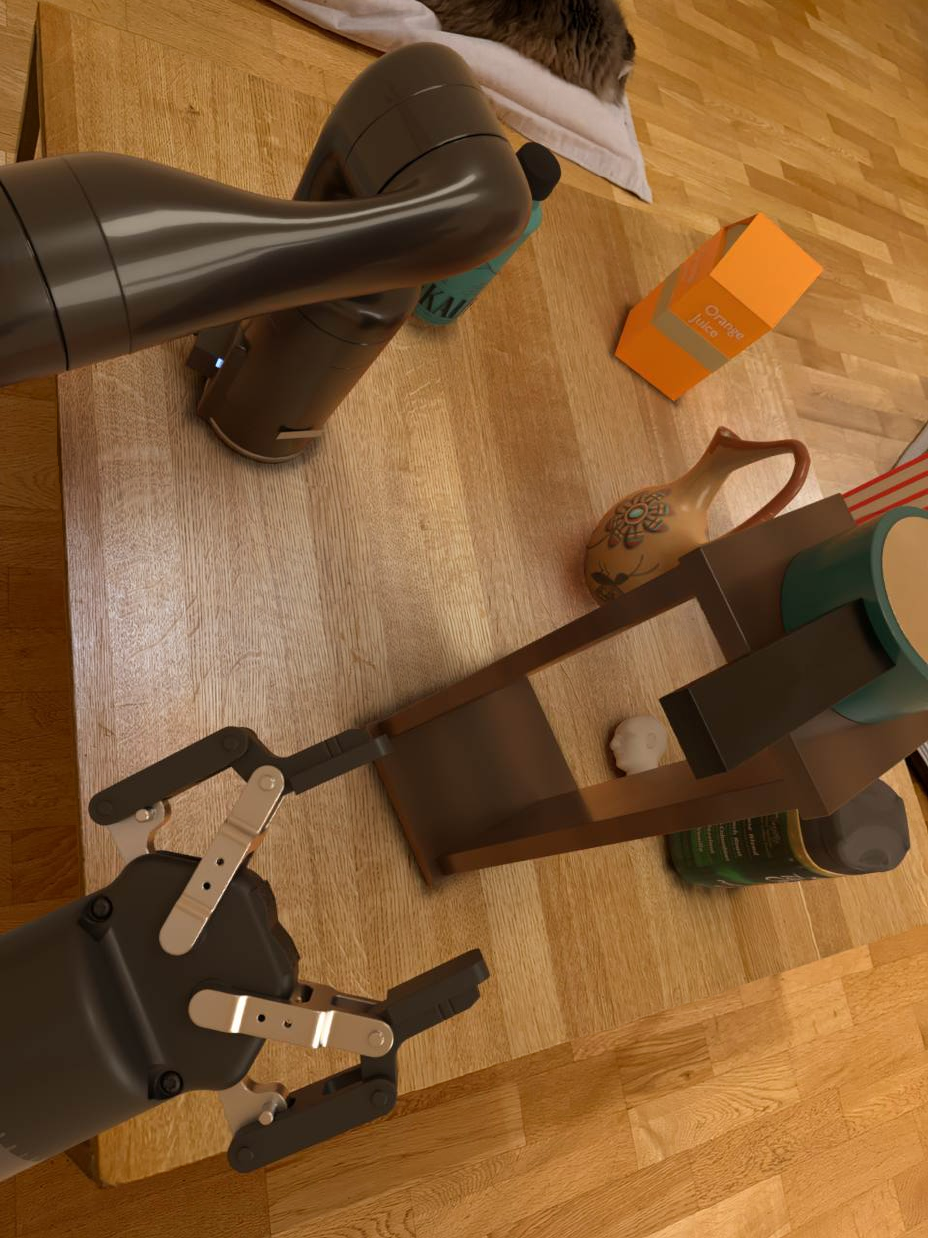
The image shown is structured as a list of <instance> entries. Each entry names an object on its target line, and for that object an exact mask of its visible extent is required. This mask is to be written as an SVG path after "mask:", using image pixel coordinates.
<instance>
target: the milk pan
mask: <svg viewBox="0 0 928 1238" xmlns="http://www.w3.org/2000/svg"><path fill="white" fill-rule="evenodd" d="M781 613H782V620H783V626H784V630H785V634H783V635H781V636H779V637H777V638H775V639H773V640H771V641H769V642H767V643H765V644H763V645H761V646H759V647H758V648H756V649H754V650H752V651H750V652H748V653H746V654H744V655H742V656H740V657H738V658H736V659H734V660H732V661H731V662H729V663H727V662H726V663H725V664H723V665H721V666H719V667H717V668H714V669H713V670H711V671H709V672H708V673H705V674H703V675H702V676H700V677H698V678H696V679H693V680H692V681H690V682H688V683H686V684H684V685H682V686H680V687H679V688H676V689H675V690H673V691H670V692H669V693H667V694H665V695H663V696H661V697H659V698H658V702H659V704H660V706H661V709H662V710H663V713H664V714H665V715H664V716H665V718H666V719H667V721H668V724H669V725H670V728H671V729H672V732H673V734H674V736H675V738H676V741H677V743H678V745H679V747H680V749H681V751H682V753H683V755H684V757H685V760H686V759H687V761H688V764H689V766H690V768H691V770H692V772H693V774H694V776H695V779H696V780H699V779H703V778H707V777H711V776H715V775H719V774H723V773H727V772H729V771H731V770H733V769H734V768H736V767H737V766H739V765H740V764H742V763H744V762H745V761H747V760H748V759H750V758H752V757H753V756H755V755H756V754H758V753H759V752H761V751H763V750H764V749H766V748H767V747H769V746H771V745H772V744H774V743H775V742H777V741H778V740H780V739H782V738H783V737H785V736H786V735H788V734H790V733H791V732H793V731H794V730H796V729H797V728H799V727H801V726H802V725H804V724H805V723H807V722H809V721H810V720H812V719H813V718H815V717H816V716H818V715H820V714H821V713H823V712H824V711H826V710H827V709H829V708H832V709H834V710H835V711H837V712H838V713H840V714H841V715H843V716H845V717H847V718H849V719H851V720H854V721H857V722H860V723H866V724H876V723H881V722H884V721H888V720H892V719H896V718H900V717H904V716H907V715H911V714H915V713H919V712H923V711H927V710H928V511H927V510H925V509H922V508H919V507H914V506H899V507H895V508H892V509H890V510H888V511H886V512H884V513H882V514H880V515H877V516H875V517H873V518H871V519H869V520H867V521H865V522H863V523H860V524H858V525H856V526H854V527H852V528H850V529H848V530H846V531H843V532H841V533H839V534H837V535H835V536H833V537H831V538H828V539H826V540H824V541H822V542H820V543H818V544H816V545H814V546H811V547H809V548H807V549H805V550H804V551H802V552H800V553H799V554H798V555H797V556H796V557H795V558H794V559H793V561H792V562H791V563H790V565H789V567H788V569H787V571H786V573H785V576H784V579H783V584H782V590H781Z"/></svg>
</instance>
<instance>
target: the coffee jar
mask: <svg viewBox="0 0 928 1238" xmlns="http://www.w3.org/2000/svg"><path fill="white" fill-rule="evenodd" d="M668 844H669V852H670V856H671V859H672V863H673V865H674V868H675V870H676V872H677V873H678V875H679V876H680V878H682V879H683V880H684V881H685V882H687V883H688V884H691V885H694V886H696V887H697V886H698V887H702V888H708V889H733V888H743V887H753V886H761V885H762V886H763V885H764V886H765V885H775V884H787V883H796V882H797V883H798V882H808V881H817V880H826V879H827V880H828V879H836V878H846V877H856V876H863V875H869V874H876V873H886V872H891V871H893V870H895V869H896V868H897V867H898V866H900V865H901V863H902V862H903V860H904V859H905V857H906V855H907V853H908V852H909V850H911V838H910V827H909V822H908V816H907V809H906V806H905V802H904V799H903V797H901V796H900V795H898V793H897V792H896V790H894V789H893V788H892V787H891V786H890V785H889V784H888V783H887V782H886V781H884V780H882V779H881V778H880V777H879V778H878V779H877V780H875V781H874V782H873V783H872V784H870V785H869V786H868V787H866V788H865V789H864V790H862V791H861V792H860V793H858V794H857V795H856V796H854V797H853V798H852V799H850V800H849V801H848V802H846V803H845V804H844V805H842V806H841V807H840V808H838V809H837V810H836V811H835V812H833V813H832V814H831V815H829V816H824V817H818V818H813V819H807V820H803V819H802V817H801V815H800V813H799V811H798V809H796V810H791V811H785V812H780V813H775V814H770V815H764V816H759V817H754V818H749V819H743V820H738V821H733V822H727V823H722V824H717V825H712V826H706V827H701V828H696V829H690V830H685V831H680V832H675V833H669V834H668Z"/></svg>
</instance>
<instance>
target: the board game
mask: <svg viewBox="0 0 928 1238" xmlns="http://www.w3.org/2000/svg"><path fill="white" fill-rule="evenodd" d="M841 495H842V497H843V499H844V501H845V503H846V505H847V507H848V508H849V510H850V512H851V514H852V516H853V518H854V520H855V522H856V524H857V525H858V524H860V523H863V522H865V521H867V520H869V519H871V518H873V517H875V516H877V515H880V514H882V513H884V512H886V511H888V510H890V509H892V508H895V507H899V506H914V507H919V508H922V509H925V510H927V511H928V451H927V452H925V453H923V454H921V455H918V456H917V457H915V458H913V459H911V460H909V461H907V462H904V463H903V464H900V465H898V466H896V467H894V468H892V469H890V470H888V471H887V472H885V473H882V474H880V475H878V476H876V477H874V478H872V479H870V480H868V481H867V482H864V483H862V484H860V485H858V486H856V487H854V488H852V489H850V490H847V491H846V492H844V493H841Z"/></svg>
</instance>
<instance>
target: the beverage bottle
mask: <svg viewBox="0 0 928 1238" xmlns="http://www.w3.org/2000/svg"><path fill="white" fill-rule="evenodd" d="M515 154H516V156H517V158H518V160H519V162H520V164H521V166H522V169H523V171H524V173H525V176H526V179H527V182H528V185H529V188H530V192H531V195H532V212H531V218H530V220H529V223H528V225H527V227H526V229H525V231H524V232H523V233H522V235H521V236H520V237H519V239H518V240H517V241H516V242H515V243H514V244H513V245H511V246H510V247H509V248H508V249H507V250H505V251H504V252H503V253H501V254H500V255H499V256H497V257H496V258H494V259H492V260H491V261H489V262H487V263H485V264H483V265H481V266H479V267H476V268H474V269H472V270H470V271H468V272H465V273H462V274H459V275H456V276H453V277H450V278H447V279H444V280H440V281H437V282H433V283H429V284H424V285H421V292H420V296H419V300H418V302H417V305H416V307H415V309H414V311H413V312H412V314H413V315H414V316H416V317H417V318H418V319H420V320H421V321H423V322H425V323H426V324H428V325H432V326H436V327H442V326H443V327H444V326H447V325H449V324H450V325H451V324H453V323H454V322H457V321H458V319H459V318H461V317H462V316H463V315H464V314H465V312H466V311H468V309H469V308H470V307H471V306H472V305H473V304H474V303H475V302H476V300H478V298H479V296H481V294H483V292H484V291H486V289H487V286H489V285H490V283H491V282H492V280H493V279H494V278H495V277H496V276H497V275H501V270H502V269H503V267H504V266H505V265H506V264H507V262H509V260H510V259H511V258H512V257H513V256H514V255H515V253H516V252H517V251H518V250H519V249H520V248H521V247H522V245H523V244H524V243H525V242H526V241H527V240H528V239H529V238H530V236H531V235H532V234H533V233H534V232H536V231H537V230H538V228H539V227H540V226H541V224H542V220H543V216H544V215H543V205H542V202H543V201H545V200H547V199H548V198H549V197H550V195H551V194H552V193H553V190H554V189H555V188H556V186H557V184H558V183H559V182H560V180H561V177H562V168H561V164H560V163H559V161H558V159H557V157H556V155H555V154H554V153H553V152H552V151H551V150H550V149H549V148H547V147H546V146H544V145H543V144H541V143H539V142H537V141H528V142H525V143H524V144H523V145H522V146H520V148H518V150H517V151H515Z"/></svg>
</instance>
